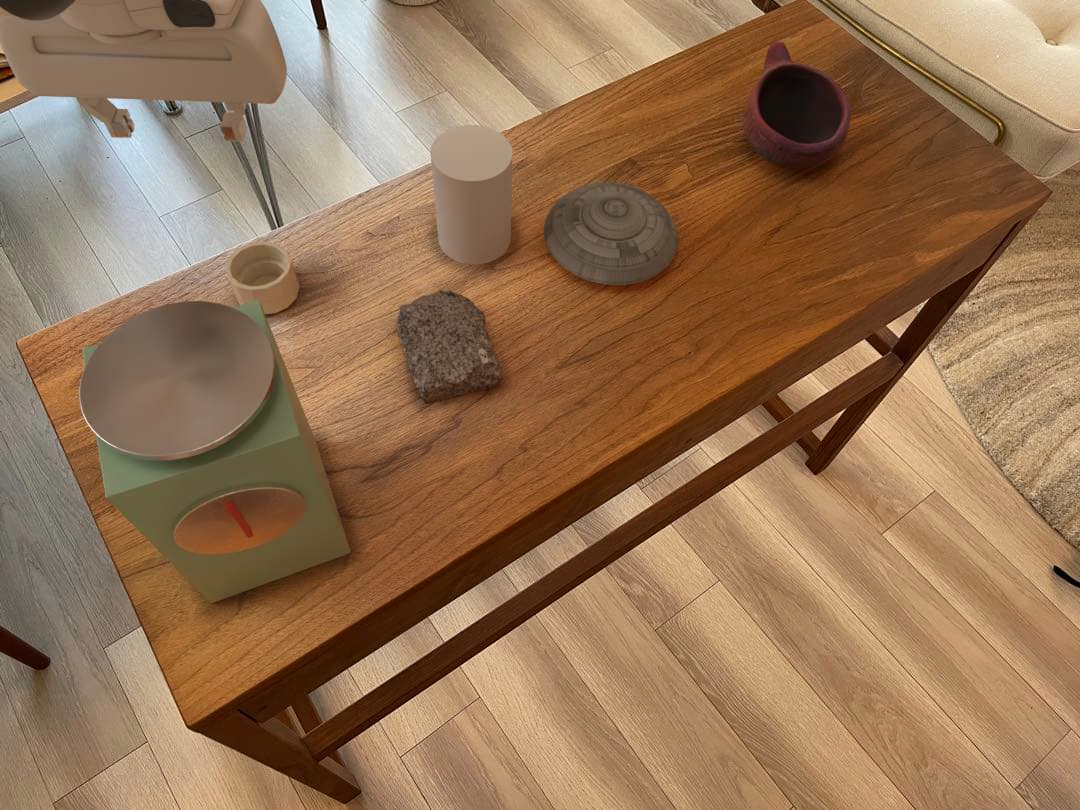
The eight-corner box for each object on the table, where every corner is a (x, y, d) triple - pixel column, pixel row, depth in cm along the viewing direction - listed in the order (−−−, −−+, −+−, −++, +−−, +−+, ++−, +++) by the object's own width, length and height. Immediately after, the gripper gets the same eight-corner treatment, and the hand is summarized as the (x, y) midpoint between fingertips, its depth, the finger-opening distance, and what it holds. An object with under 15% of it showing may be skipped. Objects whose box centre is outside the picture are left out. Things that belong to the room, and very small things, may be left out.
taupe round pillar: (522, 225, 91) (526, 140, 80) (490, 274, 87) (489, 191, 76) (459, 201, 92) (454, 115, 82) (424, 248, 88) (415, 164, 78)
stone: (503, 389, 79) (503, 368, 76) (415, 409, 78) (411, 389, 74) (474, 298, 84) (473, 275, 81) (392, 315, 83) (388, 293, 80)
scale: (212, 612, 66) (92, 494, 47) (184, 483, 72) (68, 330, 52) (353, 560, 69) (296, 429, 49) (315, 440, 75) (251, 281, 55)
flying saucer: (673, 301, 86) (683, 267, 81) (535, 284, 86) (537, 249, 81) (677, 202, 94) (687, 166, 89) (551, 187, 94) (554, 150, 89)
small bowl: (245, 325, 82) (233, 297, 78) (232, 279, 85) (220, 250, 81) (306, 307, 83) (297, 279, 79) (291, 263, 86) (282, 234, 82)
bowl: (857, 157, 99) (884, 103, 92) (787, 200, 95) (809, 146, 88) (764, 89, 105) (783, 33, 99) (694, 125, 101) (708, 70, 94)
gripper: (-56, -4, 54) (44, 156, 66) (249, 7, 55) (294, 164, 66) (-22, -56, 57) (67, 106, 69) (265, -44, 58) (305, 114, 70)
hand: (180, 135), depth 68 cm, fingers open, 8 cm apart
